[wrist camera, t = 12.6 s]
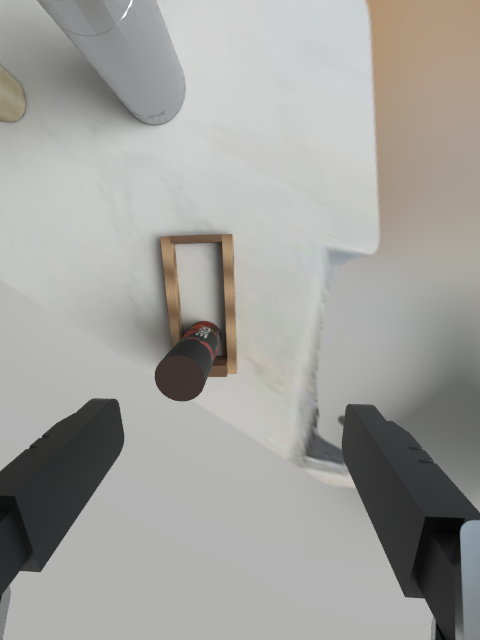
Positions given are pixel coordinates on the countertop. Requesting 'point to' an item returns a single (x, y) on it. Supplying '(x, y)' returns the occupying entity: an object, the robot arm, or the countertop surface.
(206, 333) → the deodorant
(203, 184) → the countertop surface
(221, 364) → the wooden frame
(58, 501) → the robot arm
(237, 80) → the countertop surface
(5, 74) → the flower pot
